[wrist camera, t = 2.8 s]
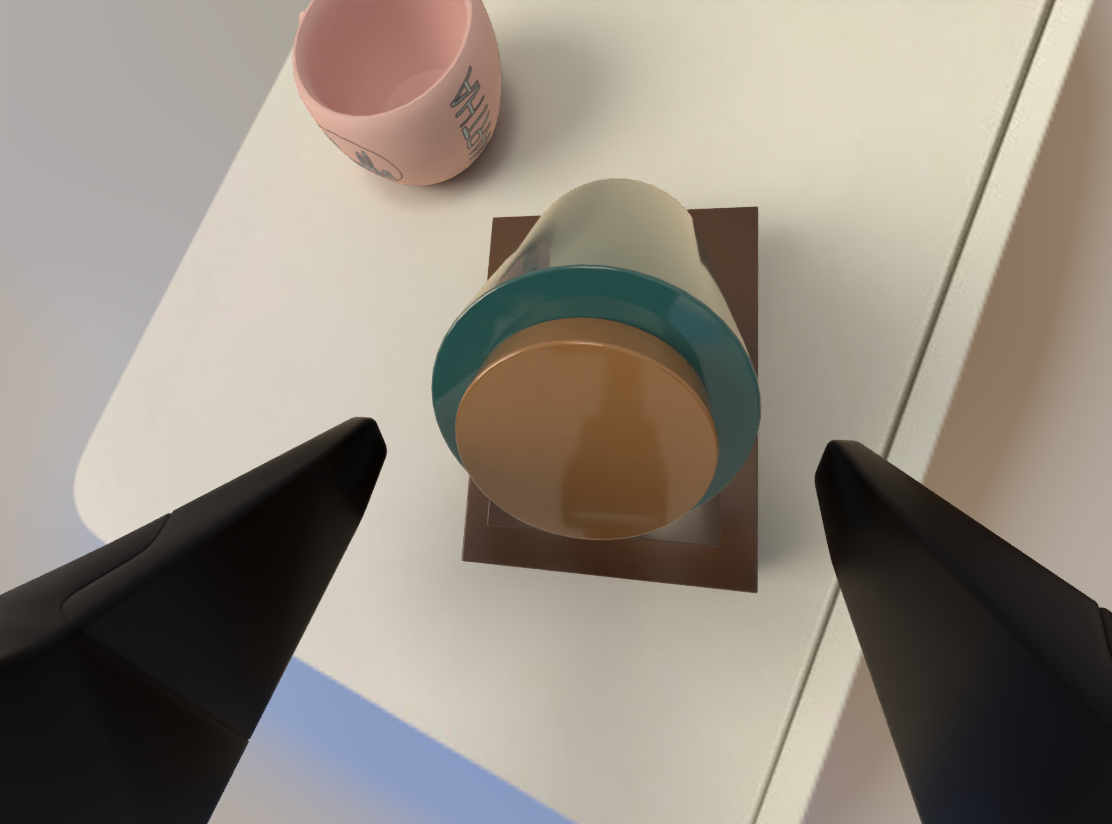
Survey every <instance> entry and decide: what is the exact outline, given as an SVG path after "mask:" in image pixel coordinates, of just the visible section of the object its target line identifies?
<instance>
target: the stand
mask: <svg viewBox="0 0 1112 824" xmlns="http://www.w3.org/2000/svg"><path fill="white" fill-rule="evenodd" d="M687 211H688V213H689V214H690V215H691V217H692V218H693V219H694V221H695V223H696V225H697V227H698V228H699V230H700V233H701V235H702V238H703V240H704V243H705V245H706V248H707V250H708V253H709V255H710V258H711V260H712V263H713V265H714V268H715V271H716V273H717V276H718V278H719V281H720V283H721V286H722V288H723V291H724V293H725V296H726V298H727V301H728V303H729V306H730V308H731V311H732V313H733V316H734V318H735V321H736V324H737V326H738V329H739V331H740V334H741V336H742V339H743V341H744V344H745V346H746V349H747V351H748V354H749V356H750V359H751V362H752V364H753V367H754V370H755V373H756V375H757V378H758V207H737V208H713V209H689V210H687ZM540 217H541V216H522V217H498V218H493V223H492V234H491V245H490V256H489V267H488V278H487V281H488V280H489V278H490V277H491V276H492V275H493V274H494V272H495V271H496V270H497V269H498V268H499V266H500V265H501V264H502V263H503V262H504V260H505V259H506V258H507V257H508V256H509V254H510V253H511V252H512V251H513V250H514V248H515V247H516V246H517V245H518V243H519V242H520V241H521V240H522V239H523V237H524V236H525V235H526V234H527V233H528V231H529V230H530V229H531V228H532V227H533V225H534V224H535V223H536V222H537V221H538V219H539V218H540ZM462 561H467V562H476V563H485V564H494V565H504V566H513V567H522V568H531V569H540V570H549V571H558V572H568V573H577V574H586V575H595V576H604V577H613V578H622V579H631V580H641V581H650V582H659V583H668V584H677V585H686V586H695V587H705V588H714V589H723V590H732V591H741V592H750V593H757V591H758V434H757V437H756V440H755V442H754V445H753V448H752V450H751V453H750V455H749V456H748V458H747V460H746V462H745V463H744V465H743V467H742V468H741V470H740V471H739V472H738V473H737V475H736V476H735V477H734V478H733V480H732V481H731V482H730V483H729V484H728V485H727V486H726V487H725V488H724V489H723V490H721V491H720V492H719V493H718V494H717V495H715V496H714V497H713V498H711V499H710V500H709V501H707V502H706V503H704V504H703V505H701V506H699V507H697V508H696V509H694V510H692V511H690V512H688V513H686V514H685V515H683V516H682V517H681V518H679V519H678V520H676V521H674V522H672V523H671V524H669V525H667V526H665V527H662V528H660V529H658V530H655V531H652V532H649V533H646V534H643V535H639V536H634V537H629V538H622V539H612V540H592V539H580V538H573V537H567V536H563V535H558V534H554V533H551V532H548V531H544V530H542V529H539V528H536V527H534V526H531V525H529V524H527V523H525V522H523V521H521V520H519V519H517V518H515V517H514V516H512V515H510V514H509V513H507V512H505V511H504V510H503V509H501V508H500V507H499V506H497V505H496V504H495V503H494V502H492V501H491V500H490V499H489V498H488V497H487V496H486V495H485V494H484V493H483V492H482V491H481V490H480V489H479V488H478V486H477V485H476V484H475V483H474V481H473V480H472V478H471V477H470V476H469V486H468V497H467V508H466V519H465V530H464V541H463V552H462Z"/></svg>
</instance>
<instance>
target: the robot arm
mask: <svg viewBox="0 0 1112 824" xmlns="http://www.w3.org/2000/svg"><path fill="white" fill-rule="evenodd" d="M386 454H387V447H386V444H385V441H384V439H383V437H382V434H381V432H380V430H379V427H378V425H377V423H376V421H375V420H374V419H372V418H368V417H354V418H351V419H349V420H347V421H345V422H343V423H341V424H339V425H337V426H336V427H334V428H332V429H330V430H328V431H326V432H324V433H322V434H320V435H318V436H316V437H314V438H312V439H311V440H309V441H307V442H305V443H303V444H301V445H299V446H297V447H295V448H293V449H291V450H289V451H287V452H286V453H284V454H282V455H280V456H278V457H276V458H274V459H272V460H270V461H268V462H266V463H264V464H262V465H260V466H259V467H257V468H255V469H253V470H251V471H249V472H247V473H245V474H243V475H241V476H239V477H237V478H235V479H234V480H232V481H230V482H228V483H226V484H224V485H222V486H220V487H218V488H216V489H214V490H212V491H210V492H209V493H207V494H205V495H203V496H201V497H199V498H197V499H195V500H193V501H191V502H189V503H187V504H185V505H184V506H182V507H180V508H178V509H176V510H174V511H173V512H172V514H171V513H168V514H166V515H164V516H162V517H160V518H158V519H156V520H154V521H153V522H151V523H149V524H147V525H145V526H143V527H141V528H139V529H137V530H135V531H133V532H131V533H129V534H127V535H125V536H123V537H121V538H119V539H117V540H115V541H113V542H111V543H109V544H107V545H105V546H103V547H101V548H99V549H97V550H95V551H93V552H90V553H88V554H86V555H85V556H82V557H80V558H78V559H76V560H74V561H72V562H70V563H68V564H65V565H63V566H61V567H59V568H57V569H55V570H53V571H50V572H49V573H46V574H44V575H42V576H40V577H38V578H35V579H33V580H31V581H29V582H27V583H25V584H23V585H20V586H18V587H16V588H14V589H12V590H10V591H8V592H5V593H3V594H1V595H0V824H207V823H208V821H209V819H210V817H211V815H212V813H213V811H214V810H215V808H216V806H217V803H218V802H219V800H220V798H221V796H222V794H223V792H224V790H225V788H226V786H227V784H228V782H229V780H230V778H231V776H232V774H233V771H234V769H235V768H236V766H237V764H238V762H239V760H240V758H241V756H242V754H243V752H244V750H245V749H246V746H247V744H248V742H249V741H248V739H250V738H251V736H252V734H253V732H254V730H255V728H256V726H257V724H258V722H259V720H260V718H261V716H262V714H263V712H264V711H265V708H266V706H267V705H268V703H269V701H270V699H271V697H272V695H273V693H274V691H275V689H276V686H277V685H278V683H279V681H280V679H281V677H282V675H283V673H284V671H285V669H286V667H287V665H288V663H289V661H290V659H291V657H292V655H293V654H294V652H295V650H296V648H297V646H298V644H299V642H300V640H301V638H302V636H303V634H304V632H305V630H306V628H307V626H308V624H309V622H310V620H311V618H312V616H313V614H314V612H315V610H316V608H317V606H318V604H319V602H320V600H321V598H322V596H323V595H324V593H325V591H326V589H327V587H328V585H329V583H330V581H331V579H332V577H333V575H334V573H335V571H336V569H337V567H338V565H339V563H340V561H341V559H342V557H343V555H344V553H345V551H346V549H347V547H348V545H349V543H350V541H351V539H352V537H353V536H354V534H355V532H356V530H357V528H358V526H359V524H360V521H361V519H362V517H363V515H364V512H365V510H366V508H367V505H368V503H369V500H370V497H371V495H372V492H373V490H374V487H375V484H376V482H377V479H378V477H379V474H380V471H381V469H382V466H383V463H384V461H385V458H386ZM815 487H816V492H817V497H818V501H819V506H820V511H821V516H822V520H823V525H824V530H825V535H826V539H827V544H828V549H829V553H830V557H831V561H832V564H833V567H834V570H835V574H836V576H837V579H838V582H839V585H840V588H841V591H842V594H843V597H844V600H845V603H846V605H847V608H848V611H849V614H850V617H851V620H852V623H853V626H854V629H855V632H856V634H857V637H858V640H859V643H860V646H861V649H862V652H863V655H864V658H865V661H866V663H867V666H868V669H869V672H870V675H871V678H872V681H873V684H874V687H875V690H876V692H877V695H878V698H879V701H880V704H881V707H882V710H883V713H884V716H885V719H886V721H887V724H888V727H889V730H890V733H891V736H892V739H893V742H894V745H895V748H896V750H897V753H898V756H899V759H900V762H901V765H902V768H903V770H904V774H905V777H906V779H907V782H908V785H909V788H910V791H911V794H912V797H913V800H914V803H915V806H916V809H917V812H918V814H919V817H920V820H921V823H922V824H1112V612H1111V611H1109V610H1108V609H1106V608H1099V606H1098V604H1097V603H1096V602H1095V601H1094V600H1092V599H1091V598H1090V597H1088V596H1086V595H1085V594H1084V593H1082V592H1081V591H1079V590H1078V589H1076V588H1075V587H1073V586H1072V585H1070V584H1069V583H1067V582H1066V581H1064V580H1063V579H1061V578H1060V577H1058V576H1057V575H1055V574H1054V573H1052V572H1051V571H1049V570H1048V569H1046V568H1045V567H1043V566H1042V565H1040V564H1039V563H1038V562H1036V561H1035V560H1033V559H1032V558H1030V557H1029V556H1027V555H1026V554H1024V553H1023V552H1021V551H1020V550H1018V549H1017V548H1015V547H1014V546H1012V545H1011V544H1009V543H1008V542H1007V541H1005V540H1004V539H1002V538H1001V537H999V536H998V535H996V534H995V533H993V532H992V531H990V530H989V529H987V528H986V527H984V526H983V525H981V524H980V523H978V522H977V521H975V520H974V519H972V518H971V517H969V516H968V515H966V514H965V513H964V512H962V511H960V510H959V509H958V508H956V507H955V506H953V505H951V504H950V503H949V502H947V501H946V500H944V499H943V498H941V497H940V496H938V495H937V494H935V493H934V492H932V491H931V490H929V489H928V488H926V487H925V486H923V485H922V484H921V483H919V482H918V481H916V480H915V479H913V478H912V477H910V476H909V475H907V474H906V473H904V472H903V471H901V470H900V469H898V468H897V467H895V466H894V465H892V464H891V463H889V462H888V461H886V460H885V459H883V458H882V457H880V456H879V455H878V454H876V453H875V452H873V451H872V450H870V449H869V448H867V447H866V446H864V445H863V444H861V443H859V442H857V441H851V440H832V441H830V442H829V443H828V444H827V446H826V448H825V451H824V453H823V455H822V458H821V460H820V463H819V465H818V467H817V470H816V473H815Z"/></svg>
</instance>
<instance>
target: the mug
mask: <svg viewBox="0 0 1112 824" xmlns="http://www.w3.org/2000/svg"><path fill="white" fill-rule="evenodd" d="M299 23H300V24H299V27H298V29H297V32H296V35H295V41H294V48H293V55H292V60H293V74H294V78H295V82H296V85H297V88H298V91H299V95H300V97H301V99H302V101H303V102H304V104H305V106H306V107H307V109H308V110H309V112H310V114H311V115H312V117H313V118H314V120H315V121H316V123H317V124H318V126H319V127H320V128H321V129H322V131H323V132H324V133H325V134H326V136H327V137H328V138H329V139H330V140H331V141H332V142H333V143H334V144H335V145H336V146H337V147H338V148H339V149H340V150H341V151H342V152H343V153H345V154H346V155H347V156H348V157H349V158H350V159H352V160H353V161H354V162H356V163H357V164H358V165H360V166H361V167H363V168H365V169H367V170H369V171H371V172H373V173H375V174H377V175H379V176H381V177H384V178H386V179H388V180H391V181H393V182H397V183H401V184H405V185H422V186H424V185H430V184H435V183H440V182H443V181H445V180H448V179H450V178H453V177H454V176H456V175H458V174H459V173H461V172H463V171H464V170H466V169H467V168H468V167H469V166H470V165H471V164H472V163H473V162H475V161H476V159H477V158H478V157H479V156H480V154H481V153H482V152H483V150H484V149H485V148H486V146H487V144H488V143H489V141H490V139H491V137H492V135H493V132H494V130H495V126H496V123H497V119H498V116H499V108H500V97H501V84H502V71H501V62H500V56H499V50H498V44H497V41H496V37H495V33H494V30H493V27H492V24H491V21H490V19H489V16H488V13H487V11H486V9H485V7H484V4H483V2H482V0H312V1H311V2H310V4H309V6H308V7H307V9H306V10H304V11H302V12H300V15H299Z"/></svg>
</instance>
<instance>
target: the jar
mask: <svg viewBox="0 0 1112 824" xmlns="http://www.w3.org/2000/svg"><path fill="white" fill-rule="evenodd" d="M431 388H432V401H433V408H434V412H435V416H436V420H437V423H438V426H439V428H440V431H441V434H442V436H443V438H444V440H445V441H446V443H447V445H448V447H449V449H450V450H451V452H452V453H453V455H454V456H455V458H456V459H457V460H458V462H459V463H460V464H461V465H462V466H463V468H464V469H465V470H466V471H467V472H468V474H469V476H470V477H471V478H472V480H473V481H474V483H475V484H476V485H477V486H478V488H479V489H480V490H481V491H482V492H483V493H484V494H485V495H486V496H487V497H488V498H489V499H490V500H491V501H492V502H494V503H495V504H496V505H497V506H499V507H500V508H501V509H503V510H504V511H505V512H507V513H509V514H510V515H512V516H514V517H515V518H517V519H519V520H521V521H523V522H525V523H527V524H529V525H531V526H534V527H536V528H539V529H542V530H544V531H548V532H551V533H554V534H558V535H563V536H567V537H573V538H580V539H592V540H612V539H622V538H629V537H634V536H639V535H643V534H646V533H649V532H652V531H655V530H658V529H660V528H662V527H665V526H667V525H669V524H671V523H672V522H674V521H676V520H678V519H679V518H681V517H682V516H683V515H685V514H686V513H688V512H690V511H692V510H694V509H696V508H697V507H699V506H701V505H703V504H704V503H706V502H707V501H709V500H710V499H711V498H713V497H714V496H715V495H717V494H718V493H719V492H720V491H721V490H723V489H724V488H725V487H726V486H727V485H728V484H729V483H730V482H731V481H732V480H733V478H734V477H735V476H736V475H737V473H738V472H739V471H740V470H741V468H742V467H743V465H744V463H745V462H746V460H747V458H748V456H749V455H750V453H751V450H752V448H753V445H754V442H755V440H756V437H757V434H758V429H759V423H760V418H761V395H760V390H759V384H758V378H757V375H756V373H755V370H754V367H753V364H752V362H751V359H750V356H749V354H748V351H747V349H746V346H745V344H744V341H743V339H742V336H741V334H740V331H739V329H738V326H737V324H736V321H735V318H734V316H733V313H732V311H731V308H730V306H729V303H728V301H727V298H726V296H725V293H724V291H723V288H722V286H721V283H720V281H719V278H718V276H717V273H716V271H715V268H714V265H713V263H712V260H711V258H710V255H709V253H708V250H707V248H706V245H705V243H704V240H703V238H702V235H701V233H700V230H699V228H698V227H697V225H696V223H695V221H694V219H693V218H692V217H691V215H690V214H689V213H688V211H687V210H686V209H685V208H684V207H683V206H682V205H681V204H680V203H679V202H678V201H677V200H676V199H675V198H673V197H672V196H670V195H669V194H668V193H666V192H665V191H663V190H661V189H659V188H657V187H655V186H653V185H650V184H647V183H644V182H641V181H636V180H630V179H604V180H597V181H594V182H590V183H587V184H584V185H582V186H579V187H577V188H575V189H573V190H571V191H569V192H568V193H566V194H565V195H563V196H561V197H560V198H559V199H558V200H557V201H555V202H554V203H553V204H552V205H551V206H550V207H549V208H548V209H547V210H546V211H545V212H544V213H543V215H542V216H541V217H540V218H539V219H538V221H537V222H536V223H535V224H534V225H533V227H532V228H531V229H530V230H529V231H528V233H527V234H526V235H525V236H524V237H523V239H522V240H521V241H520V242H519V243H518V245H517V246H516V247H515V248H514V250H513V251H512V252H511V253H510V254H509V256H508V257H507V258H506V259H505V260H504V262H503V263H502V264H501V265H500V266H499V268H498V269H497V270H496V271H495V272H494V274H493V275H492V276H491V277H490V278H489V280H488V281H487V282H486V283H485V285H484V286H483V287H482V288H481V289H480V291H479V292H478V293H477V294H476V295H475V297H474V298H473V299H472V300H471V301H470V303H469V304H468V305H467V306H466V307H465V309H464V310H463V311H462V312H461V314H460V315H459V316H458V317H457V318H456V320H455V321H454V322H453V324H452V325H451V327H450V329H449V330H448V332H447V333H446V335H445V336H444V338H443V341H442V343H441V345H440V347H439V350H438V352H437V355H436V359H435V363H434V367H433V374H432V387H431Z"/></svg>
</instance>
